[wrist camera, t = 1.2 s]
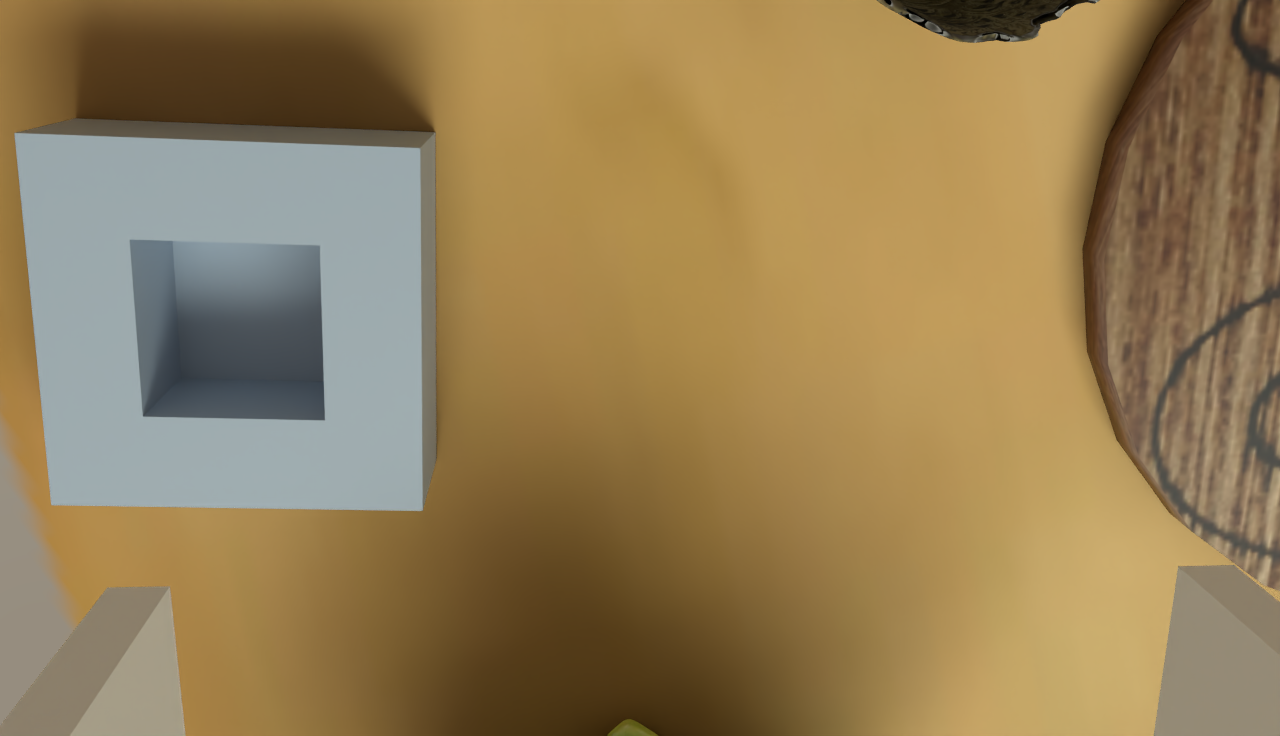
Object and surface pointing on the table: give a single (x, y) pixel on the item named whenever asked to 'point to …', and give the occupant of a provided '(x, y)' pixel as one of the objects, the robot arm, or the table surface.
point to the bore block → (233, 313)
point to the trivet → (1196, 276)
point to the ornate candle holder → (982, 17)
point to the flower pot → (631, 729)
